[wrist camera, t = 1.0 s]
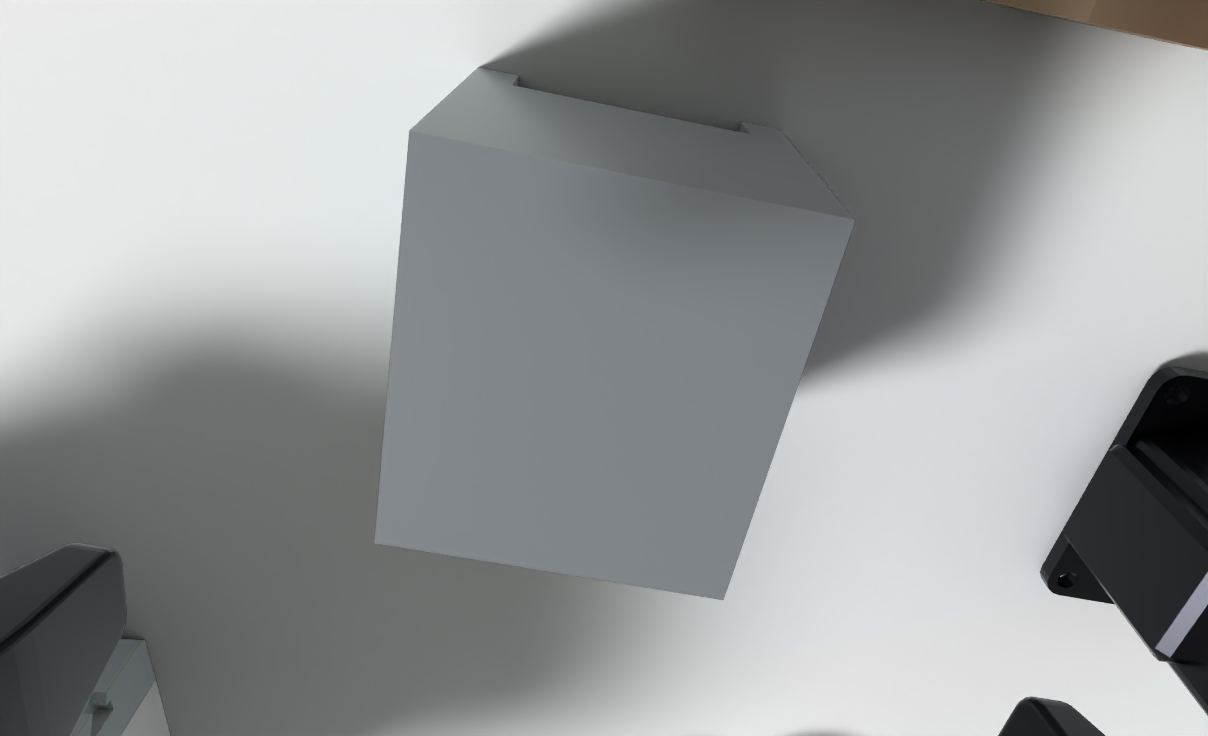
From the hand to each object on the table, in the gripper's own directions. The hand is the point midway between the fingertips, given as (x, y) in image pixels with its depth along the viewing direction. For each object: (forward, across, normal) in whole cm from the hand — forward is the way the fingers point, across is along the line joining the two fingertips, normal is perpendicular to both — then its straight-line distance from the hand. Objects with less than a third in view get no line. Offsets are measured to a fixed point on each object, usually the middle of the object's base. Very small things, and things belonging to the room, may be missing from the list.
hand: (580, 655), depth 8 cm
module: (+11, 0, 0) cm, 11 cm away
